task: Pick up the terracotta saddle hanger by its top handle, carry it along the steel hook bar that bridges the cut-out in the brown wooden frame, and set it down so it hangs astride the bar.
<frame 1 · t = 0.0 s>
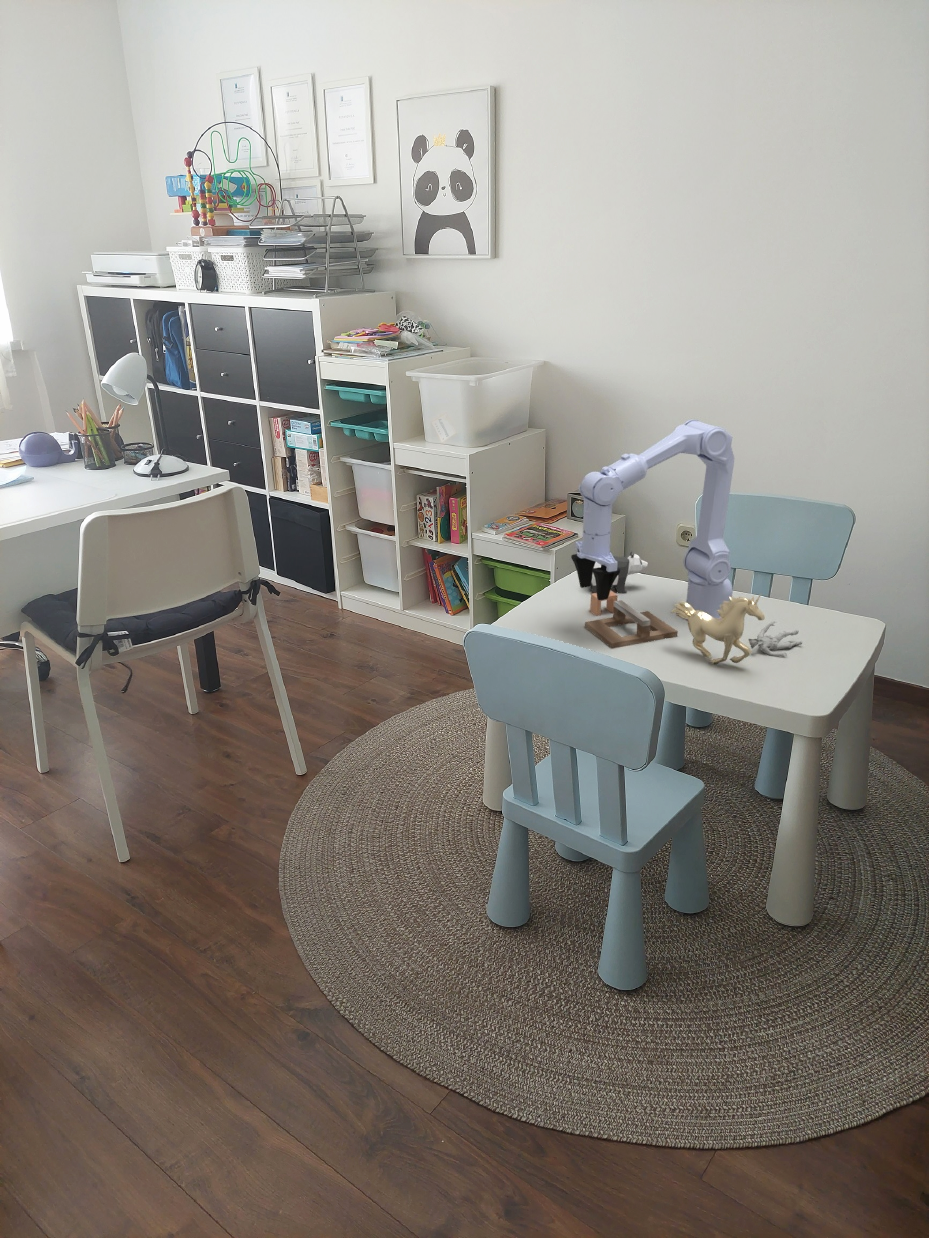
hand: (593, 592, 188), 10 cm above the table, tool pointing down, fingers open, 7 cm apart
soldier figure: (774, 650, 185), on the table
unicorn: (710, 662, 181), on the table
giant panda: (613, 590, 217), on the table
brown wooden frame: (630, 631, 194), on the table
saddle hanger: (603, 611, 205), on the table
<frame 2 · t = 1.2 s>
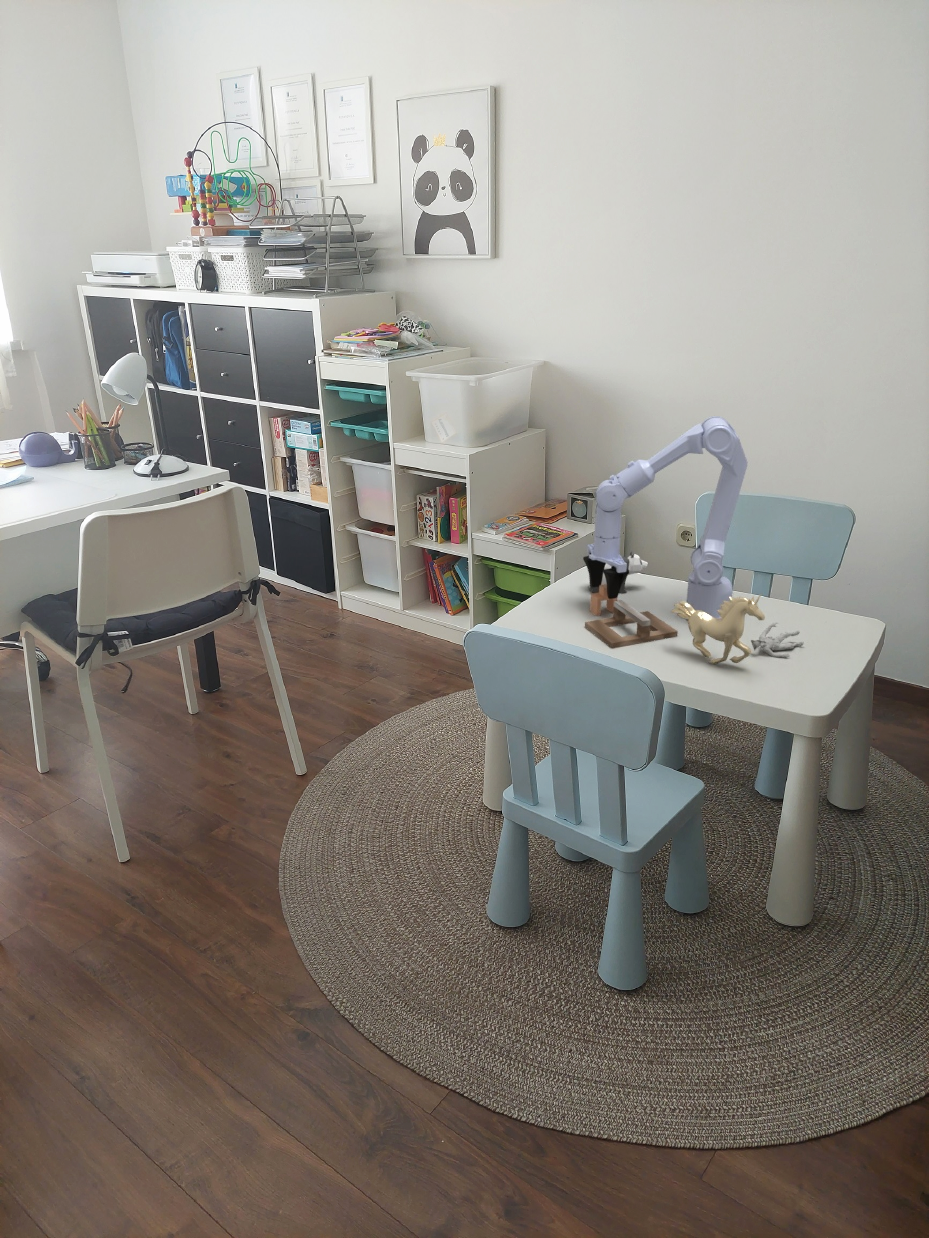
hand: (604, 592, 203), 5 cm above the table, tool pointing down, fingers open, 7 cm apart
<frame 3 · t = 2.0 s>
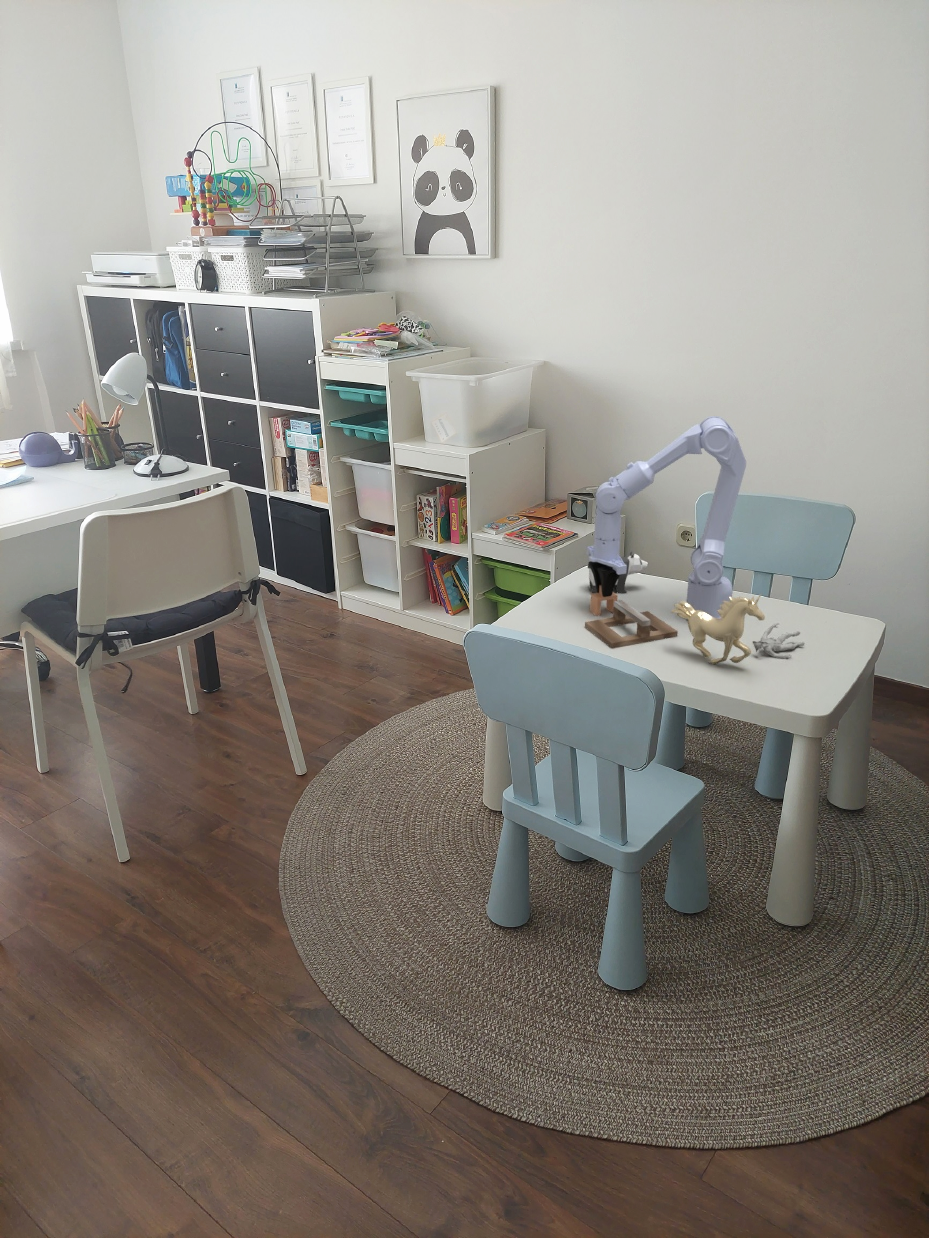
hand: (604, 593, 203), 4 cm above the table, tool pointing down, fingers closed on saddle hanger, 2 cm apart
saddle hanger: (603, 611, 205), on the table, touching gripper
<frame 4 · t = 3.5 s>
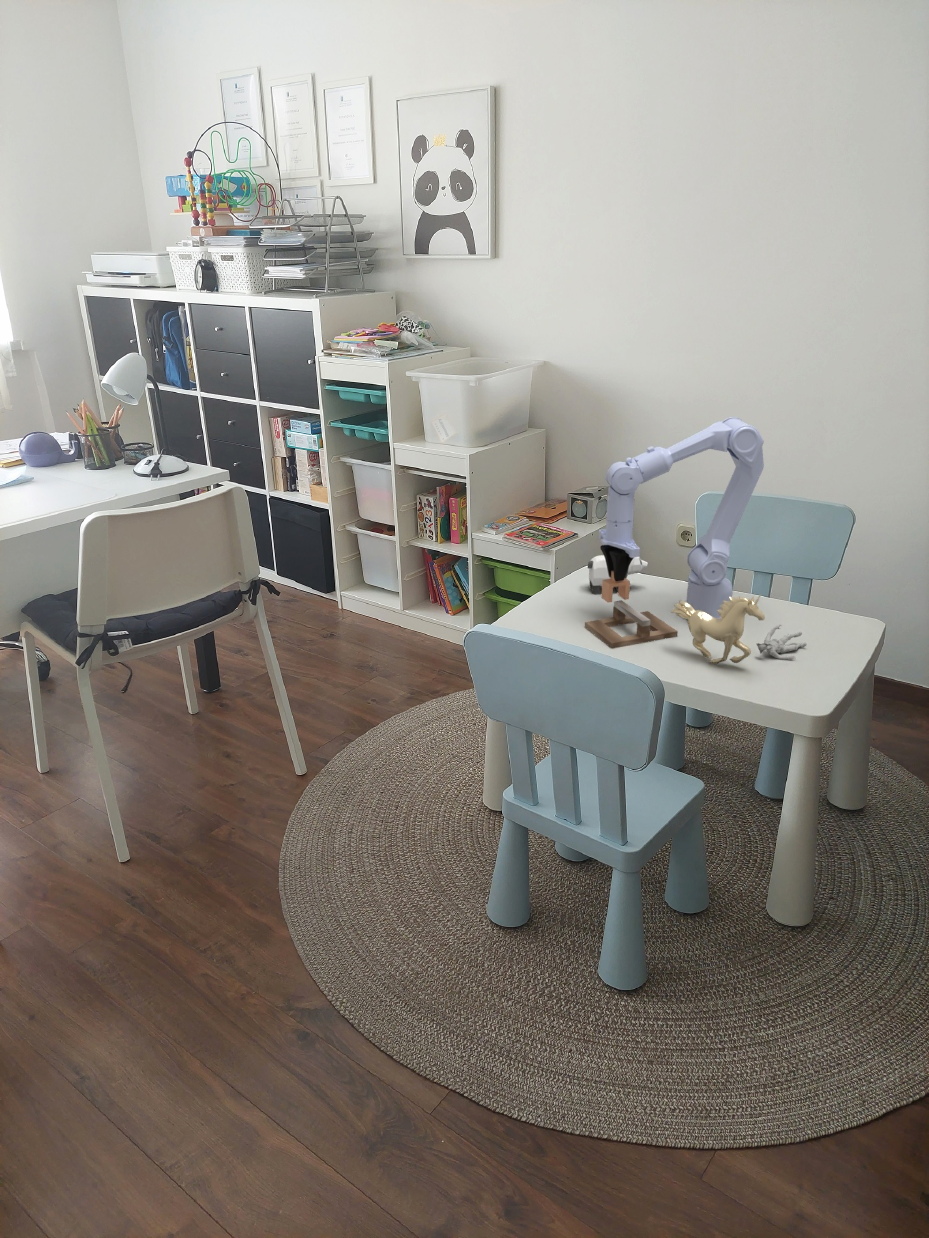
hand: (616, 578, 197), 10 cm above the table, tool pointing down, fingers closed on saddle hanger
saddle hanger: (615, 598, 198), point 5 cm above the table, touching gripper
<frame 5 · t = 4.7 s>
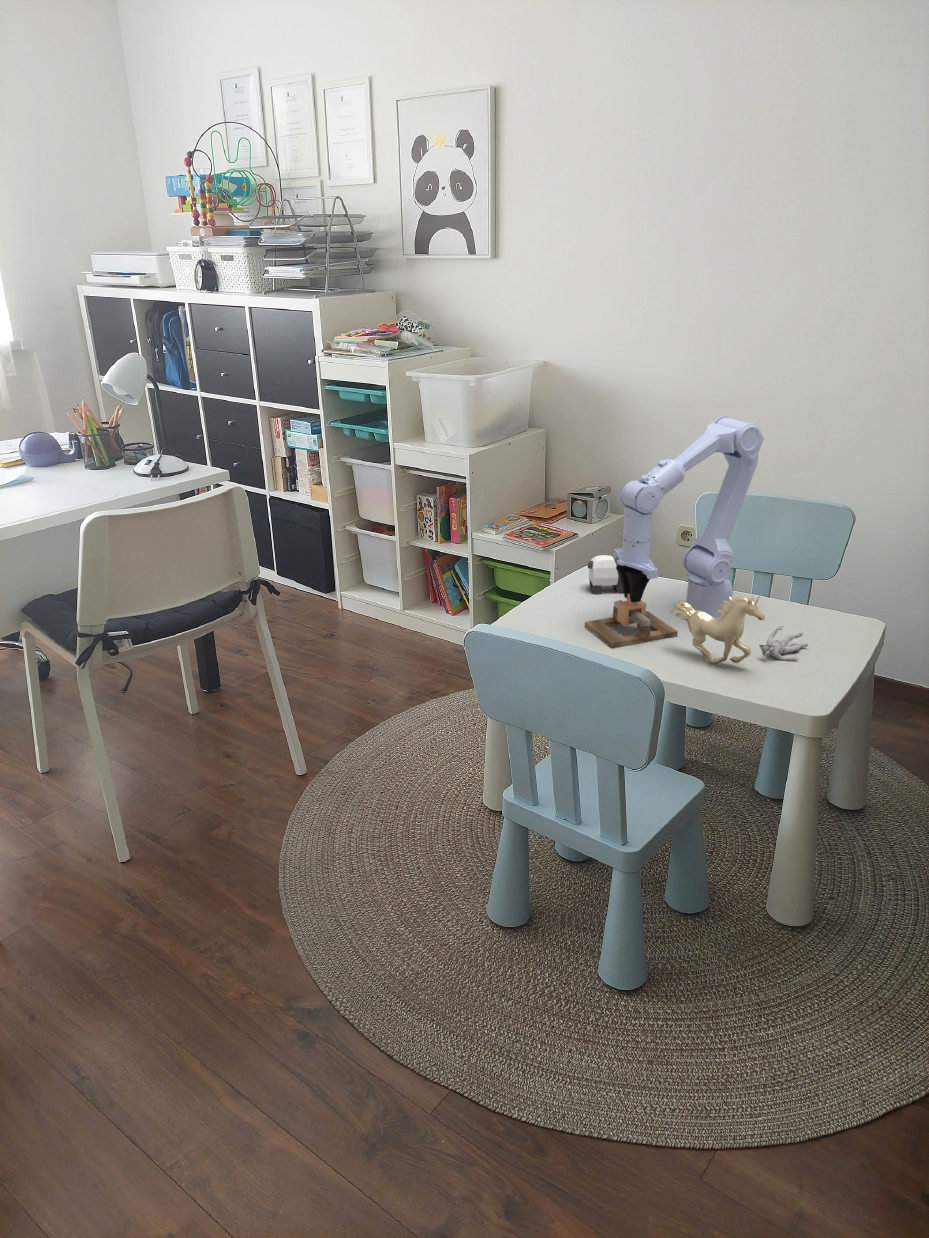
hand: (632, 599, 191), 8 cm above the table, tool pointing down, fingers closed on saddle hanger, 2 cm apart
saddle hanger: (630, 621, 193), point 2 cm above the table, touching gripper
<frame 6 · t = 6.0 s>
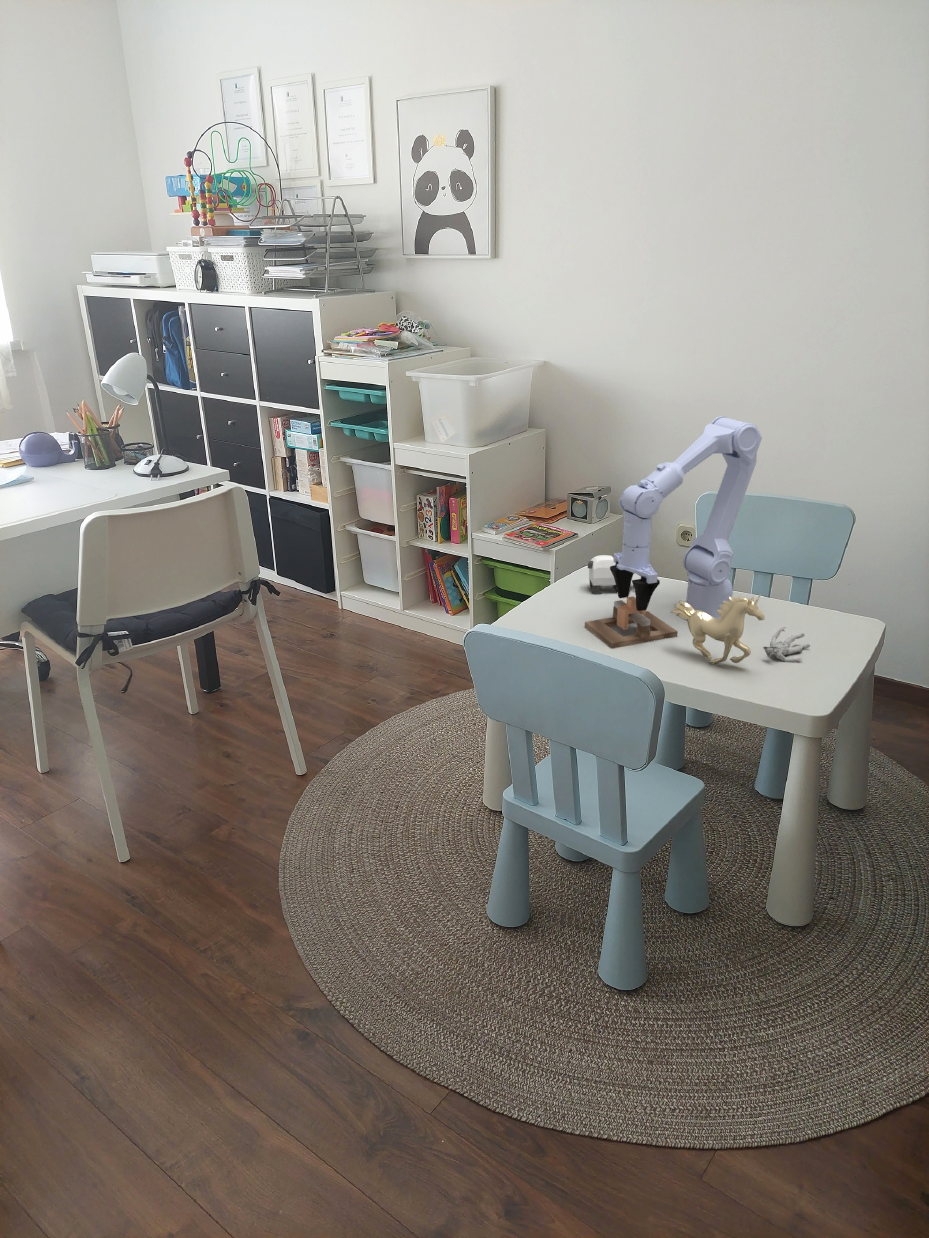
hand: (632, 603, 192), 7 cm above the table, tool pointing down, fingers open, 7 cm apart
saddle hanger: (630, 625, 194), point 1 cm above the table, touching brown wooden frame
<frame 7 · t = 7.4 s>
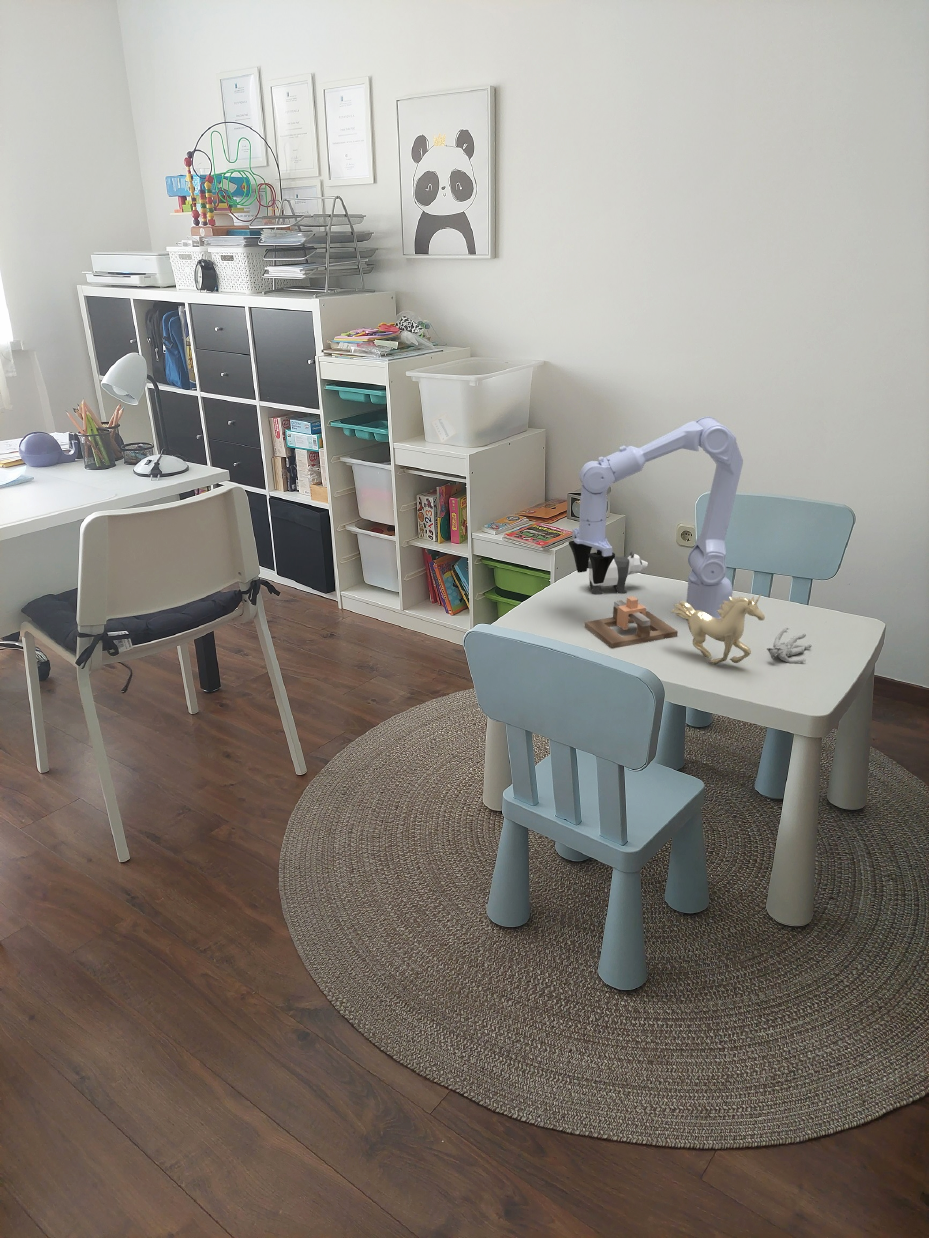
hand: (590, 577, 197), 10 cm above the table, tool pointing down, fingers open, 7 cm apart
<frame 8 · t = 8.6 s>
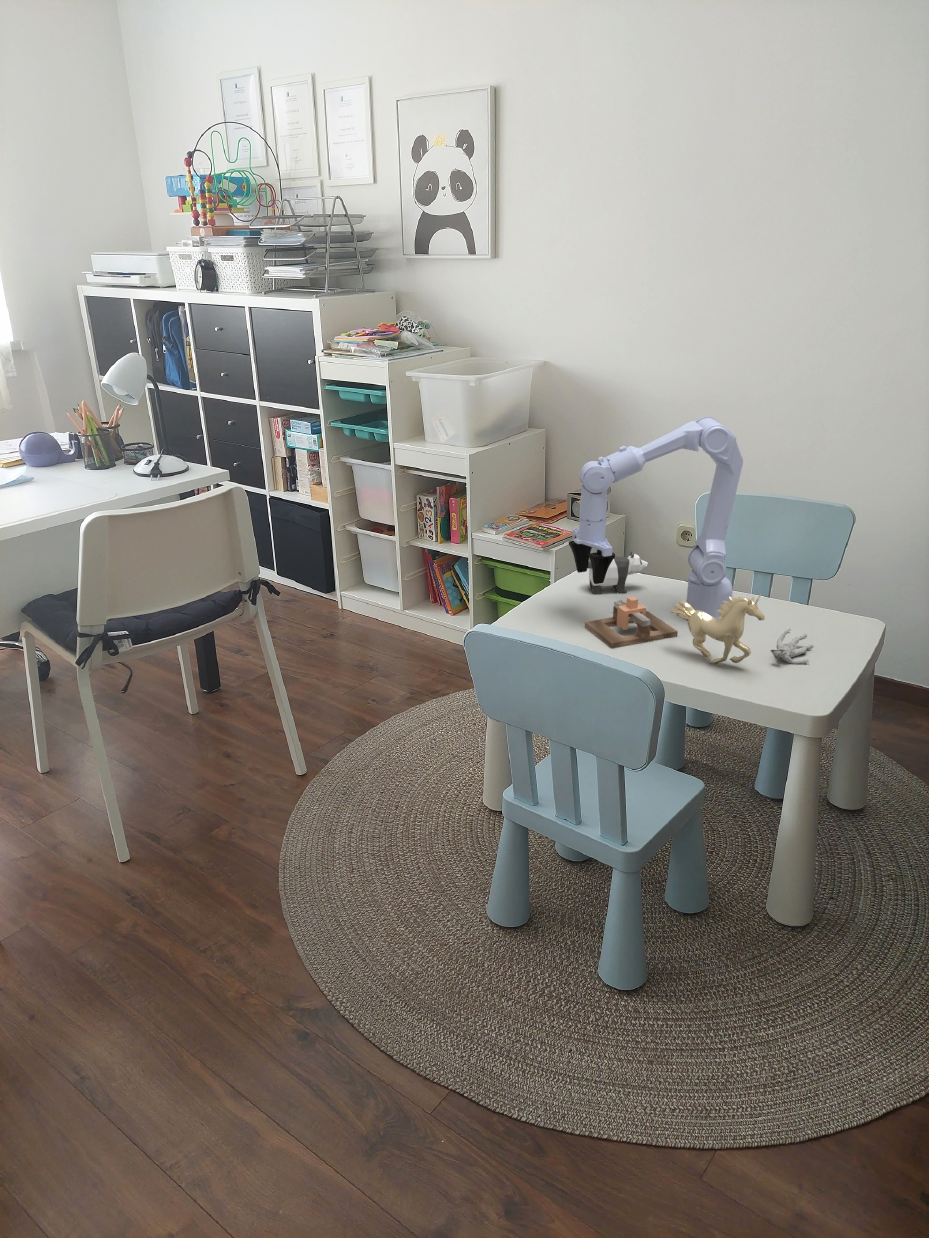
hand: (590, 577, 197), 10 cm above the table, tool pointing down, fingers open, 7 cm apart
at the end: saddle hanger 0.1 cm off-centre on the brown wooden frame, point 1.5 cm above the brown wooden frame's base; saddle hanger tilted 0°; the gripper is holding nothing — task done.
